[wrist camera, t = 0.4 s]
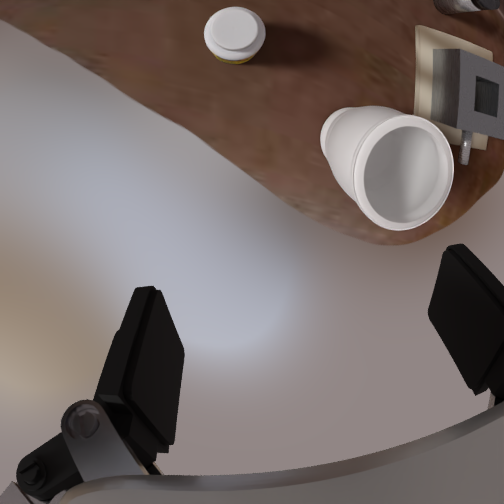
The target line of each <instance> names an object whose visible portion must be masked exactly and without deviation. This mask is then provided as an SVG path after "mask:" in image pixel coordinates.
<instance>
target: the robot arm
mask: <svg viewBox="0 0 504 504" xmlns="http://www.w3.org/2000/svg"><path fill="white" fill-rule="evenodd" d="M428 316H429V319H430V321H431V322H432V324H433V326H434V327H435V329H436V331H437V332H438V334H439V336H440V337H441V339H442V341H443V343H444V344H445V346H446V348H447V349H448V351H449V353H450V355H451V357H452V358H453V360H454V362H455V364H456V365H457V367H458V369H459V371H460V373H461V375H462V377H463V378H464V381H465V382H466V384H467V386H468V387H469V388H470V389H472V390H473V392H474V394H475V396H476V395H478V394H480V393H482V392H484V391H486V390H487V389H488V388H489V389H490V390H491V394H490V400H489V404H488V410H486V411H484V412H482V413H480V414H478V415H476V416H474V417H472V418H470V419H467V420H465V421H463V422H461V423H458V424H456V425H454V426H452V427H449V428H446V429H444V430H441V431H439V432H436V433H434V434H431V435H428V436H426V437H423V438H420V439H418V440H414V441H412V442H409V443H406V444H403V445H399V446H396V447H393V448H389V449H386V450H383V451H379V452H376V453H372V454H368V455H364V456H360V457H356V458H352V459H348V460H343V461H338V462H333V463H328V464H323V465H317V466H311V467H306V468H298V469H292V470H284V471H276V472H265V473H253V474H237V475H214V476H213V475H211V476H184V475H183V476H182V475H164V474H163V472H162V471H161V470H160V469H159V467H158V466H157V465H156V463H155V462H154V461H156V456H157V453H168V452H169V445H173V444H174V441H175V432H176V422H177V413H178V405H179V396H180V388H181V380H182V372H183V364H184V356H185V354H184V348H183V345H182V342H181V340H180V338H179V335H178V333H177V330H176V328H175V325H174V323H173V320H172V318H171V315H170V312H169V310H168V307H167V305H166V302H165V299H164V297H163V294H162V292H161V290H156V288H155V287H154V286H146V287H137V288H135V290H134V292H133V295H132V297H131V300H130V303H129V305H128V308H127V310H126V313H125V316H124V318H123V321H122V324H121V327H120V329H119V330H118V331H117V332H116V334H115V336H114V339H113V341H112V344H111V347H110V350H109V353H108V356H107V359H106V361H105V364H104V367H103V370H102V373H101V376H100V379H99V383H98V386H97V389H96V392H95V396H94V399H93V400H88V399H87V400H80V401H78V402H75V403H74V404H72V405H71V406H70V407H68V409H67V410H66V411H65V413H64V414H63V417H62V419H61V430H62V432H61V433H59V434H58V435H56V436H55V437H54V438H52V439H50V440H49V441H48V442H46V443H45V444H43V445H42V446H40V447H39V448H37V449H36V450H34V451H33V452H31V453H30V454H28V455H27V456H25V457H24V458H23V459H22V460H21V461H20V463H19V465H18V468H17V472H16V474H17V475H16V477H17V482H16V483H15V482H13V481H12V482H11V483H10V485H9V486H8V487H7V488H6V490H5V491H4V492H3V493H2V495H1V496H0V504H504V286H503V285H502V284H501V282H500V281H499V280H498V279H497V278H496V277H495V276H494V275H493V274H492V273H491V271H490V270H489V269H488V268H487V267H486V266H485V265H484V264H483V263H482V262H481V261H480V260H479V259H478V258H477V257H476V256H475V255H474V254H473V253H472V252H471V251H470V250H469V249H468V248H467V247H466V246H465V245H464V244H456V245H450V246H448V247H447V249H446V251H444V252H443V255H442V259H441V264H440V268H439V272H438V276H437V280H436V284H435V287H434V291H433V294H432V298H431V301H430V305H429V308H428Z"/></svg>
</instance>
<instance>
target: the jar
mask: <svg viewBox="0 0 504 504" xmlns="http://www.w3.org/2000/svg"><path fill="white" fill-rule="evenodd" d="M320 142H321V148H322V151H323V153H324V155H325V157H326V158H327V160H328V162H329V165H330V167H331V170H332V172H333V174H334V176H335V178H336V180H337V181H338V183H339V184H340V186H341V187H342V188H343V190H344V191H345V192H346V193H347V194H348V195H349V196H350V197H351V198H352V199H353V200H354V201H356V202H357V204H358V205H359V207H360V209H361V210H362V211H363V213H364V214H365V215H366V216H367V217H368V218H369V219H370V220H371V221H373V222H374V223H375V224H377V225H379V226H381V227H383V228H386V229H390V230H408V229H412V228H415V227H417V226H420V225H421V224H423V223H425V222H426V221H428V220H429V219H430V218H432V217H433V216H434V215H435V214H436V213H437V212H438V211H439V209H440V208H441V207H442V205H443V204H444V202H445V200H446V198H447V196H448V194H449V192H450V189H451V186H452V181H453V174H454V162H453V156H452V152H451V148H450V146H449V143H448V141H447V139H446V138H445V136H444V135H443V133H442V132H441V131H440V130H439V129H438V128H437V127H436V126H435V125H434V124H433V123H431V122H430V121H428V120H426V119H424V118H421V117H418V116H414V115H408V114H404V113H402V112H400V111H397V110H395V109H392V108H388V107H383V106H364V107H357V108H353V107H348V108H343V109H340V110H338V111H336V112H334V113H333V114H331V115H330V116H329V117H328V119H327V120H326V121H325V123H324V125H323V127H322V130H321V136H320Z"/></svg>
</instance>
